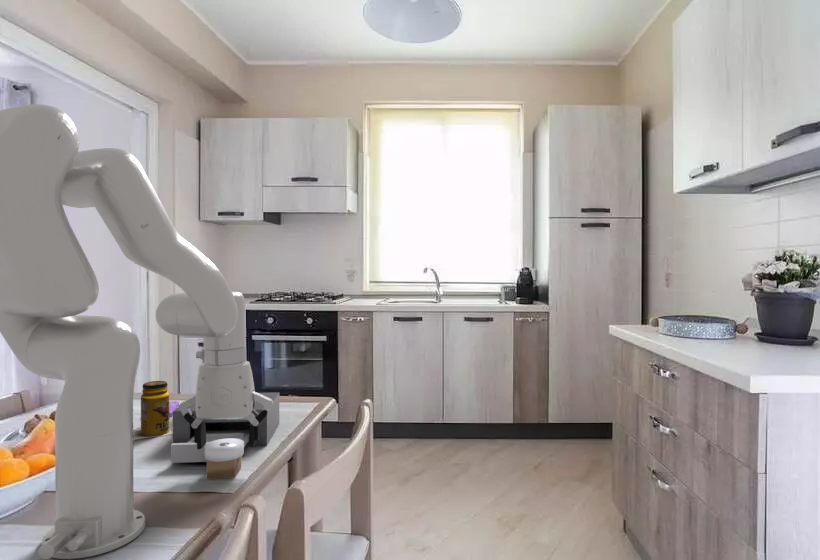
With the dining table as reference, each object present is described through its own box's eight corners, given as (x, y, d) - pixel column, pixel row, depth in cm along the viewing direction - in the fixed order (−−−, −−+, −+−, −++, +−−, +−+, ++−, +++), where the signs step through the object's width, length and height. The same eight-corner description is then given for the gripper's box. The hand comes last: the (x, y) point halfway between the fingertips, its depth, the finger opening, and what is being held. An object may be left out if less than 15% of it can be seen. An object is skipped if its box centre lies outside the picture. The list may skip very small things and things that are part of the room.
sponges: (179, 407, 145) (179, 400, 145) (172, 418, 133) (172, 411, 133) (152, 408, 143) (152, 402, 143) (142, 421, 131) (142, 414, 131)
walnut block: (234, 478, 93) (234, 459, 93) (206, 479, 93) (206, 460, 93) (241, 467, 98) (241, 449, 98) (214, 468, 98) (214, 450, 98)
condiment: (173, 434, 119) (172, 383, 119) (132, 441, 114) (131, 388, 114) (168, 426, 125) (168, 378, 125) (129, 432, 120) (129, 382, 120)
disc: (238, 461, 92) (238, 450, 92) (199, 462, 92) (199, 451, 92) (247, 448, 99) (247, 437, 99) (211, 449, 99) (211, 438, 99)
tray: (236, 460, 99) (236, 443, 99) (170, 462, 98) (170, 444, 98) (254, 435, 115) (254, 419, 115) (198, 436, 114) (197, 421, 114)
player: (266, 445, 111) (266, 409, 111) (172, 448, 109) (172, 411, 109) (279, 424, 127) (279, 392, 127) (197, 425, 125) (197, 393, 125)
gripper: (170, 362, 91) (173, 455, 92) (268, 359, 93) (270, 451, 93) (185, 354, 99) (187, 440, 99) (275, 351, 100) (277, 436, 101)
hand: (227, 445), depth 96 cm, fingers open, 9 cm apart
